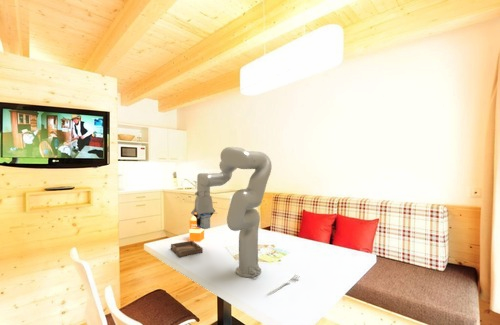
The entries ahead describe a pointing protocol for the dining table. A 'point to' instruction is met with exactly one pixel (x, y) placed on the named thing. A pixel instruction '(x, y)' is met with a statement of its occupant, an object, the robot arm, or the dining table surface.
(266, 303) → the dining table surface
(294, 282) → the fork
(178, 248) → the walnut tray
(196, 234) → the orange juice
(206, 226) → the medicine box
